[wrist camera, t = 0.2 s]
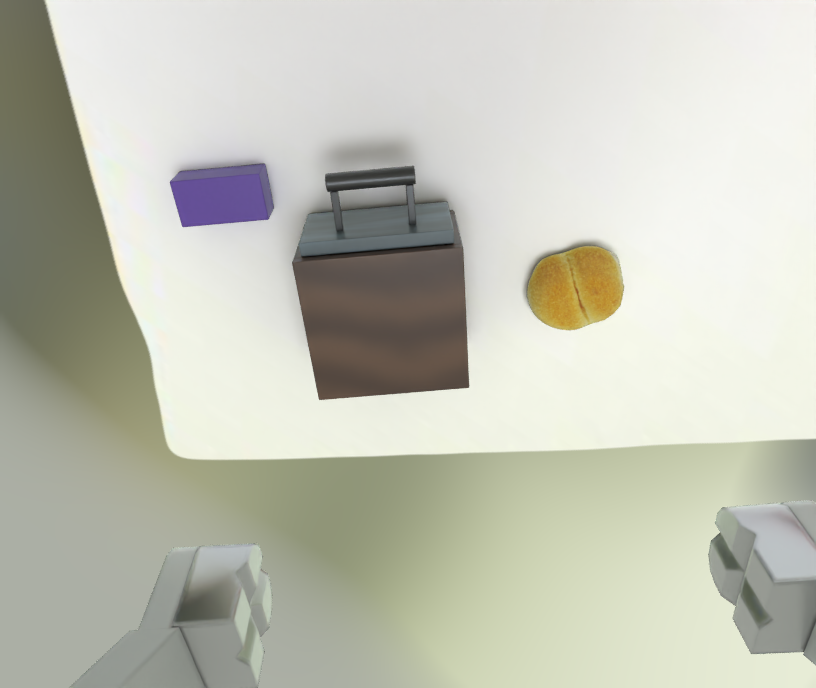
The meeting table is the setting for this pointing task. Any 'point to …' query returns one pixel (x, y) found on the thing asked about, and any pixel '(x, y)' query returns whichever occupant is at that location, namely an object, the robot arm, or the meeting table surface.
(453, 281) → the cabinet
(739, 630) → the robot arm
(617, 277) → the bread roll
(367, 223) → the drawer
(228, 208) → the bar
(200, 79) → the meeting table surface
